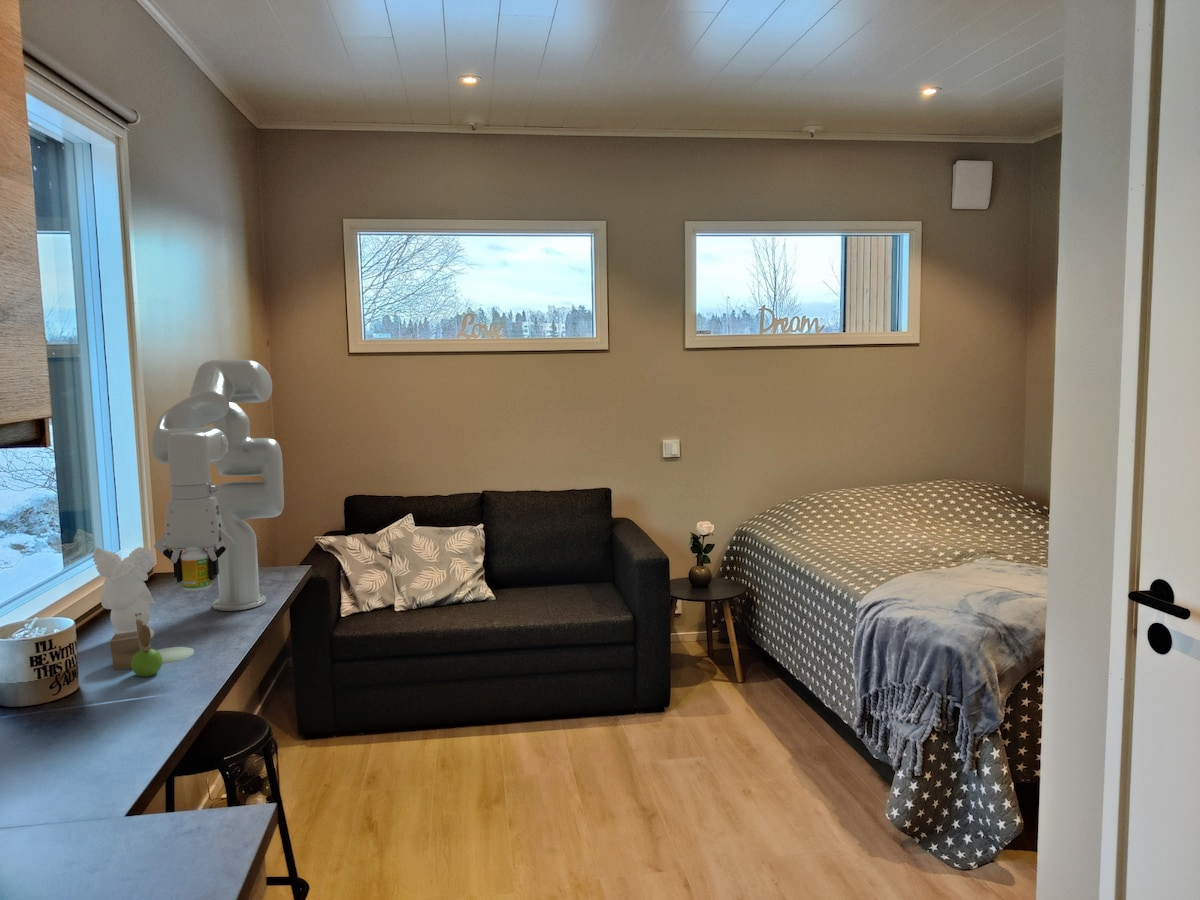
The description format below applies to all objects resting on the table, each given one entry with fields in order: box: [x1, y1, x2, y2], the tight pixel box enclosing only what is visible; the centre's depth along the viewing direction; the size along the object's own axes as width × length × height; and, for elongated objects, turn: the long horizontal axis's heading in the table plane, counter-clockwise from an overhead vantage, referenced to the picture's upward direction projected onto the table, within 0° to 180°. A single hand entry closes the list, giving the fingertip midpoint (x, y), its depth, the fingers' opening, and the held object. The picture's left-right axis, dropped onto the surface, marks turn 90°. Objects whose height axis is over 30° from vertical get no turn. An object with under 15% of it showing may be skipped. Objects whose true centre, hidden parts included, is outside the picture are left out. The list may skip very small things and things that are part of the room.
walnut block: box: [109, 631, 142, 671], centre depth 169 cm, size 5×5×6 cm
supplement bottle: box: [181, 547, 213, 592], centre depth 170 cm, size 5×5×10 cm
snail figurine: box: [130, 613, 163, 678], centre depth 164 cm, size 5×6×12 cm
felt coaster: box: [155, 646, 195, 665], centre depth 175 cm, size 10×10×1 cm
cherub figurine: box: [91, 546, 156, 641], centre depth 183 cm, size 12×12×22 cm
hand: (197, 578), depth 171 cm, fingers closed on supplement bottle, 5 cm apart
